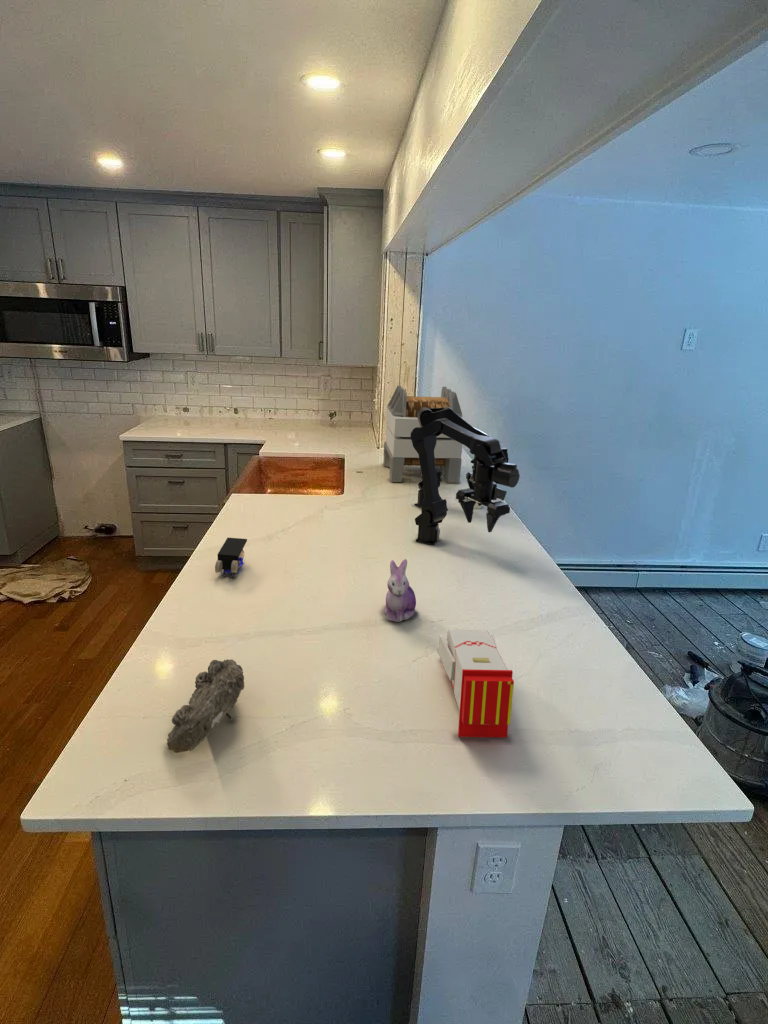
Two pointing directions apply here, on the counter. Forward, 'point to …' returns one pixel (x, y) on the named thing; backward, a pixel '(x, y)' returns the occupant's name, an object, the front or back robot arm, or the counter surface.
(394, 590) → the figurine
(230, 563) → the black toy vehicle
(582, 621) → the counter surface
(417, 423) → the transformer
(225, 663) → the fossil
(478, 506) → the can
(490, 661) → the toy
